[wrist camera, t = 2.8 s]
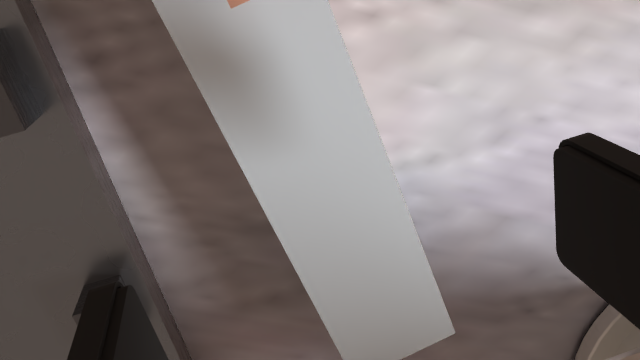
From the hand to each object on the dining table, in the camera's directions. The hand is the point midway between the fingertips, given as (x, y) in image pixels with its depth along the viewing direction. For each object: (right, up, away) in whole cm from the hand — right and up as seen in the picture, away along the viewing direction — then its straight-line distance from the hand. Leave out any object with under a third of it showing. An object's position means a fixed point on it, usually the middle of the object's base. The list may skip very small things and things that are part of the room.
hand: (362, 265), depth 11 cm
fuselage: (-2, +4, +11) cm, 12 cm away
